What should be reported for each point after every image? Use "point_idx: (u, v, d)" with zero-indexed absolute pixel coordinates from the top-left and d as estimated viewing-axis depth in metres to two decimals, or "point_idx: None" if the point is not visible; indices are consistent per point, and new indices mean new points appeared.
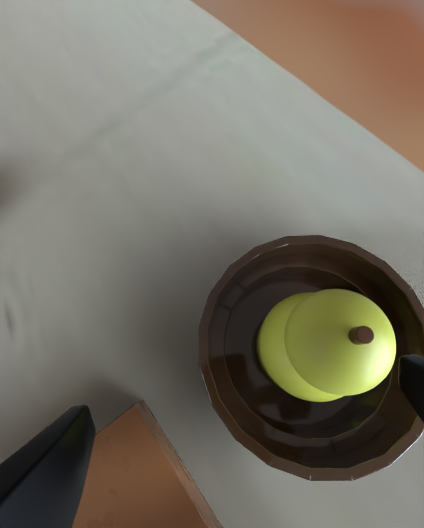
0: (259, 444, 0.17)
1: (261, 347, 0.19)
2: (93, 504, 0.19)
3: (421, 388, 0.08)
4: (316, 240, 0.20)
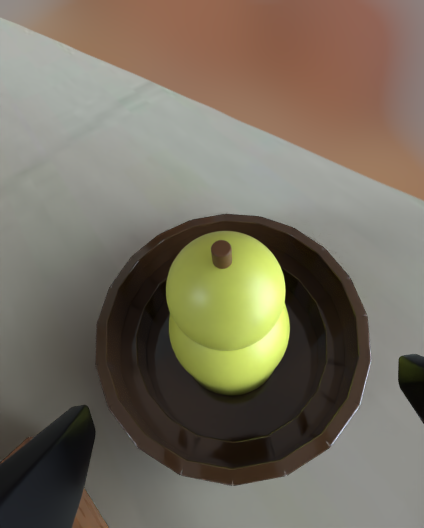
0: (167, 449, 0.14)
1: (169, 334, 0.16)
2: None
3: (421, 388, 0.08)
4: (222, 219, 0.20)
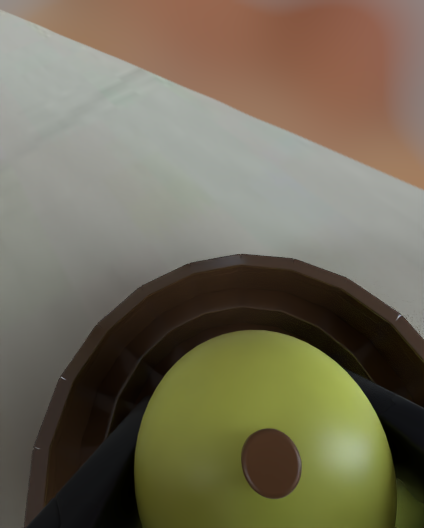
0: None
1: None
2: None
3: None
4: (236, 262, 0.13)
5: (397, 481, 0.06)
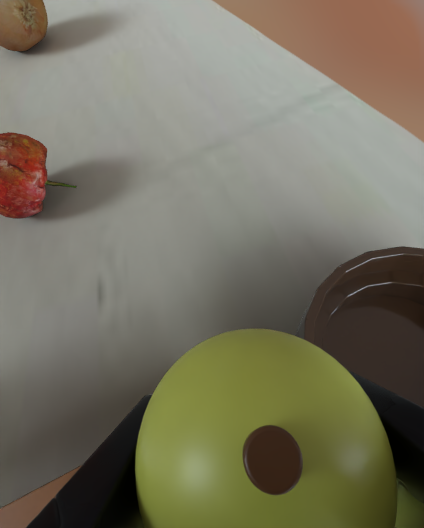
0: None
1: None
2: None
3: None
4: None
5: (397, 481, 0.06)
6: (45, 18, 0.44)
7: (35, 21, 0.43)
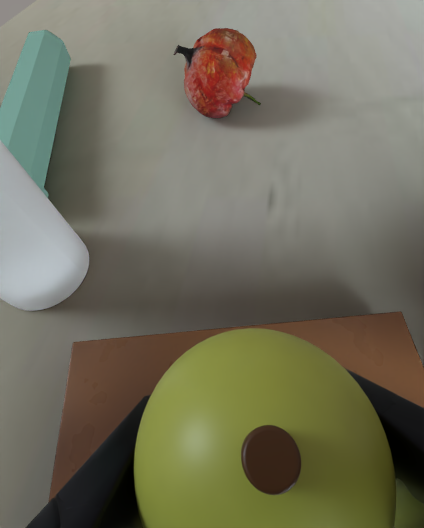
0: None
1: None
2: None
3: None
4: None
5: (397, 481, 0.06)
6: None
7: None
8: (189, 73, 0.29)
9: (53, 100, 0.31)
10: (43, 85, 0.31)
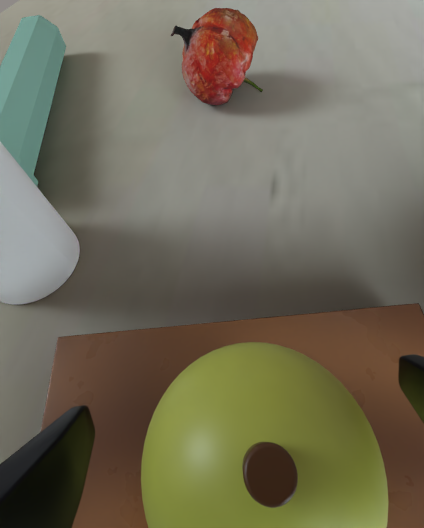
0: None
1: None
2: (342, 372, 0.15)
3: (421, 388, 0.08)
4: None
5: None
6: None
7: None
8: (187, 56, 0.27)
9: (46, 86, 0.30)
10: (35, 70, 0.29)
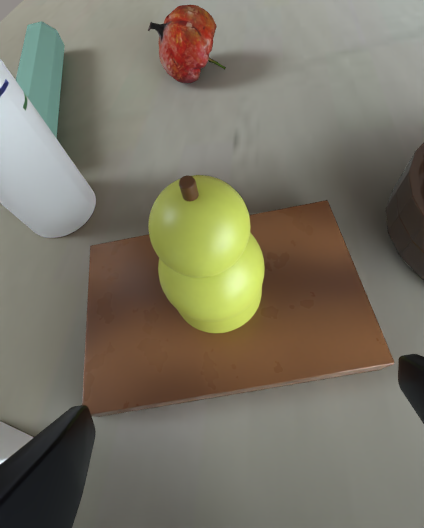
0: None
1: None
2: (276, 244, 0.24)
3: (421, 388, 0.08)
4: None
5: None
6: None
7: None
8: (162, 45, 0.35)
9: (55, 79, 0.38)
10: (45, 67, 0.37)
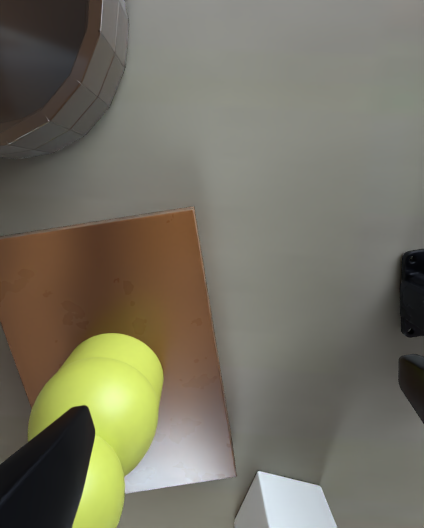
0: (24, 120, 0.14)
1: None
2: (50, 314, 0.19)
3: (421, 388, 0.08)
4: None
5: None
6: None
7: None
8: None
9: None
10: None
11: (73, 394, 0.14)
